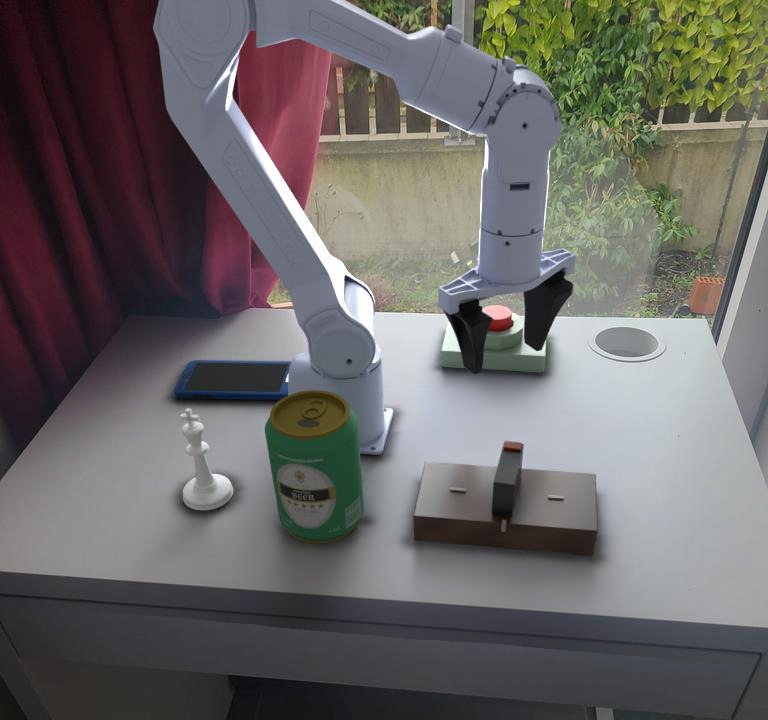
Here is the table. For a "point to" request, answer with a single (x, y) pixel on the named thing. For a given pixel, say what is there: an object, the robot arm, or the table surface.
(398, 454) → the table surface
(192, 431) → the chess piece
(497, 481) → the dark grey rectangular block
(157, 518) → the table surface
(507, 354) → the button box
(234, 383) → the cell phone
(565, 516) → the panel
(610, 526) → the table surface
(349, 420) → the beverage can
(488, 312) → the button
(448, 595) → the table surface
